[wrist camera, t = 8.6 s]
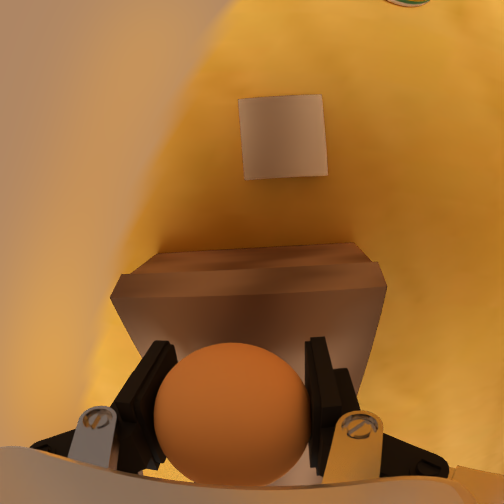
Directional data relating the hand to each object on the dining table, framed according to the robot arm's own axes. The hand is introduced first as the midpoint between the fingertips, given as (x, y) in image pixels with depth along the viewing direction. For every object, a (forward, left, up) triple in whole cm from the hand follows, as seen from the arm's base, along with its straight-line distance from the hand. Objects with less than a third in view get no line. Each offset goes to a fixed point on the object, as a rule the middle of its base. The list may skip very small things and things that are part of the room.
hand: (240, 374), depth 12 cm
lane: (0, +13, -7) cm, 15 cm away
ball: (0, 0, +2) cm, 2 cm away
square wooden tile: (-2, -9, -7) cm, 11 cm away
